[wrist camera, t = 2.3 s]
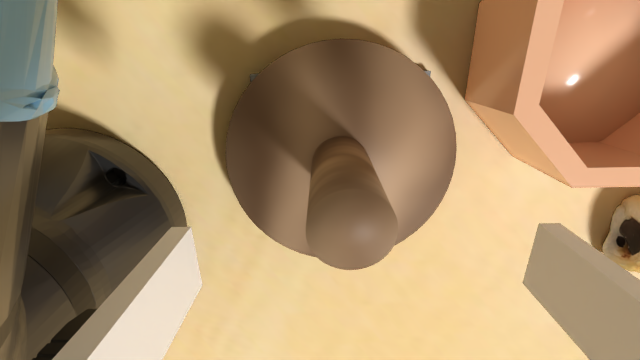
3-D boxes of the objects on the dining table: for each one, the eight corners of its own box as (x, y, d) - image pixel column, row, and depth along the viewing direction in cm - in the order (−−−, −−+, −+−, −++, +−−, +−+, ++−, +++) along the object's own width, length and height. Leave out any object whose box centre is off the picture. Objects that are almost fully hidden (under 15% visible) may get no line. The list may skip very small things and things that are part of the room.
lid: (243, 251, 26) (198, 364, 17) (215, 42, 20) (120, 30, 11) (435, 249, 26) (501, 361, 16) (465, 37, 20) (597, 20, 10)
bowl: (455, 157, 23) (497, 189, 18) (491, -81, 18) (567, -142, 12) (650, 154, 23) (753, 185, 18) (744, -87, 18) (936, -152, 12)
